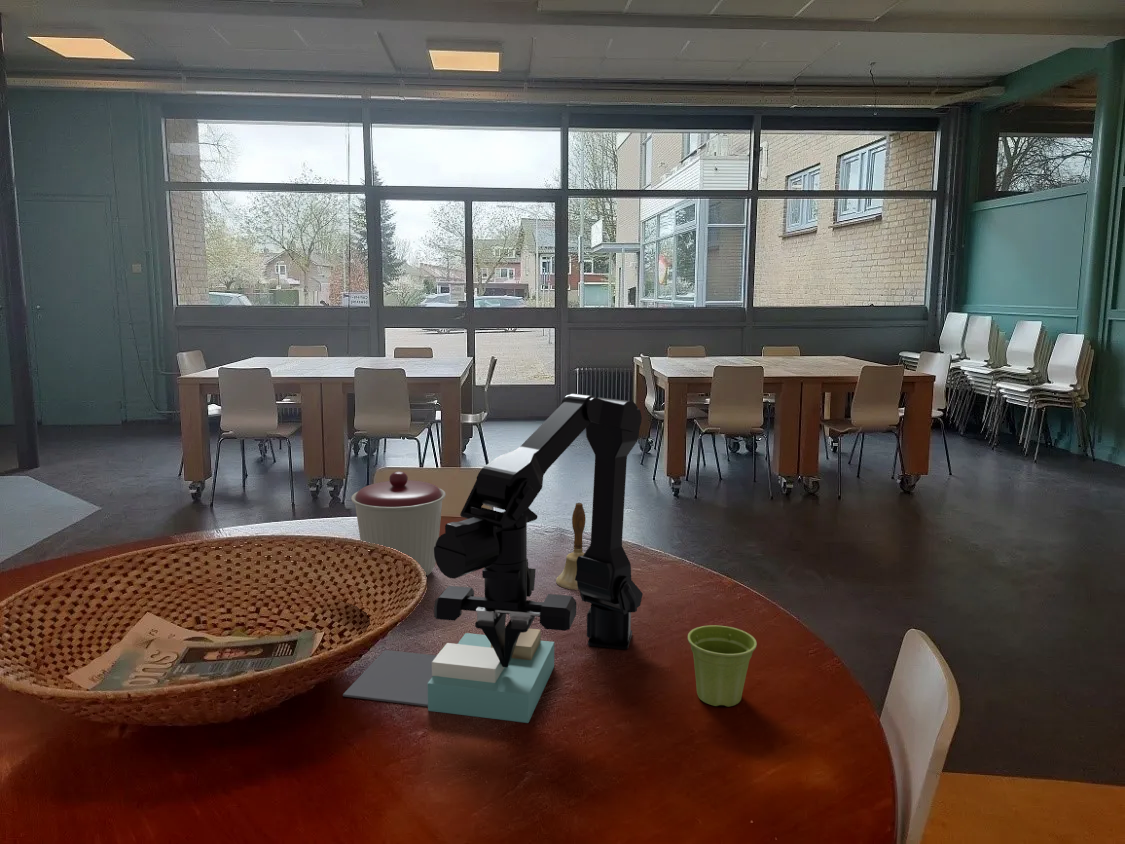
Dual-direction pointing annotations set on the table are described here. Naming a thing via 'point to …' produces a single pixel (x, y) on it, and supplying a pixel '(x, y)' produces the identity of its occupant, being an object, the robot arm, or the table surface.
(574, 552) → the hand bell
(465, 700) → the plate
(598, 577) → the robot arm
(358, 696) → the mat
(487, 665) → the white box
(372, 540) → the canister
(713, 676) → the plant pot
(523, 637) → the oak tile
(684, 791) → the table surface
